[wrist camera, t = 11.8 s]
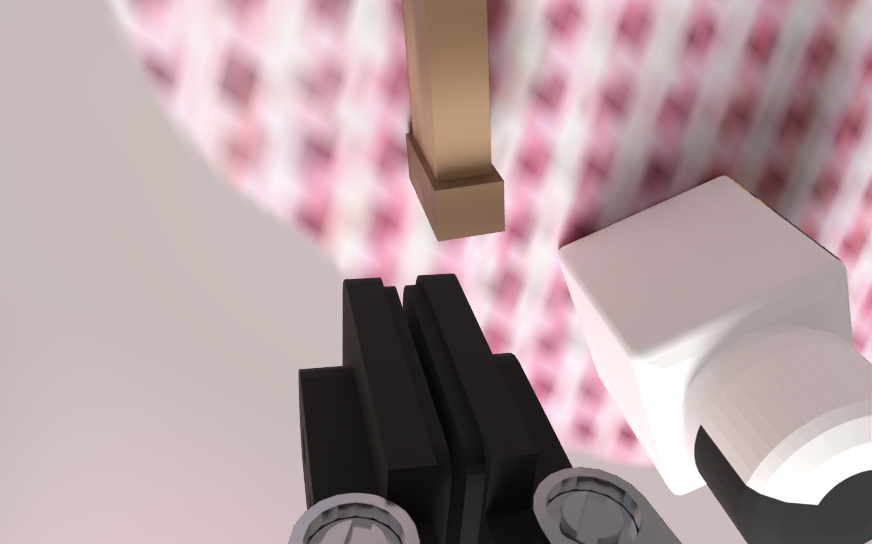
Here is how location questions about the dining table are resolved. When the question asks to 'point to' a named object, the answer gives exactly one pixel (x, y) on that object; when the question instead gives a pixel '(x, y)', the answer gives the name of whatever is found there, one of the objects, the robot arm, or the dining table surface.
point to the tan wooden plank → (451, 117)
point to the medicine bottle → (733, 360)
